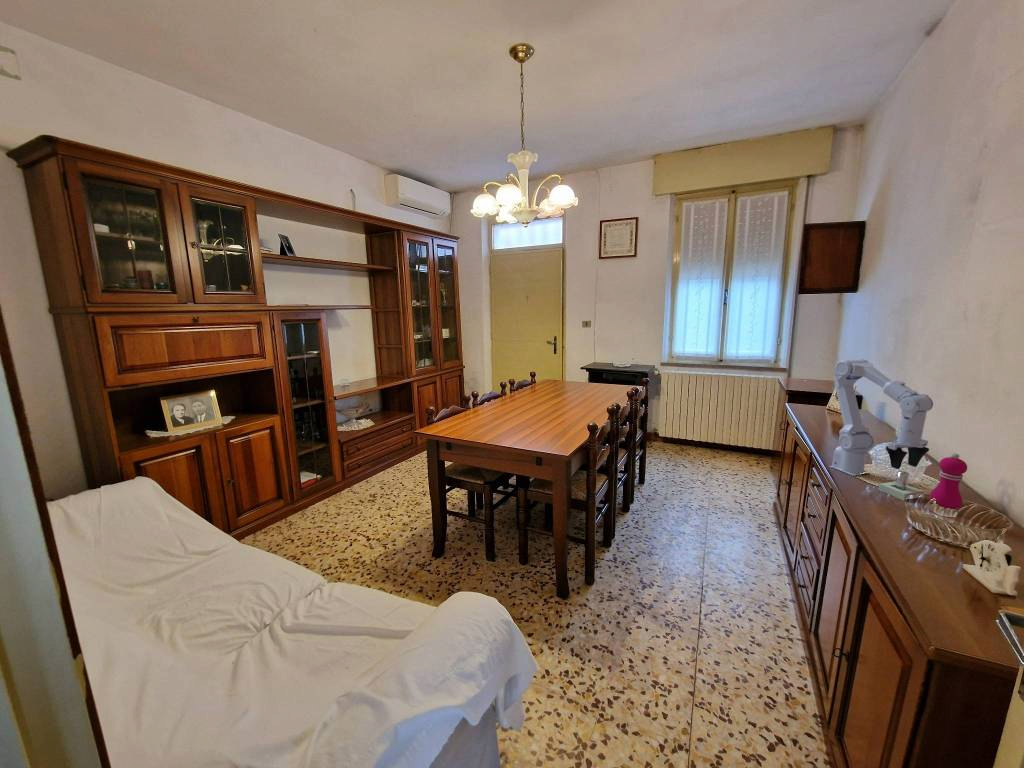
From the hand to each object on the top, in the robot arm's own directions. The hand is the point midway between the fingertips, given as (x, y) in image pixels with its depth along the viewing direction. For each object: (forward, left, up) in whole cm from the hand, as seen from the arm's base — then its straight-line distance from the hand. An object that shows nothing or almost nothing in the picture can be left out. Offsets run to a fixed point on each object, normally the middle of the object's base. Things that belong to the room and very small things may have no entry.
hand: (903, 466), depth 143 cm
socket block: (+1, -2, -9) cm, 10 cm away
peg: (+1, -2, -9) cm, 10 cm away
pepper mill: (+14, -3, -10) cm, 17 cm away
